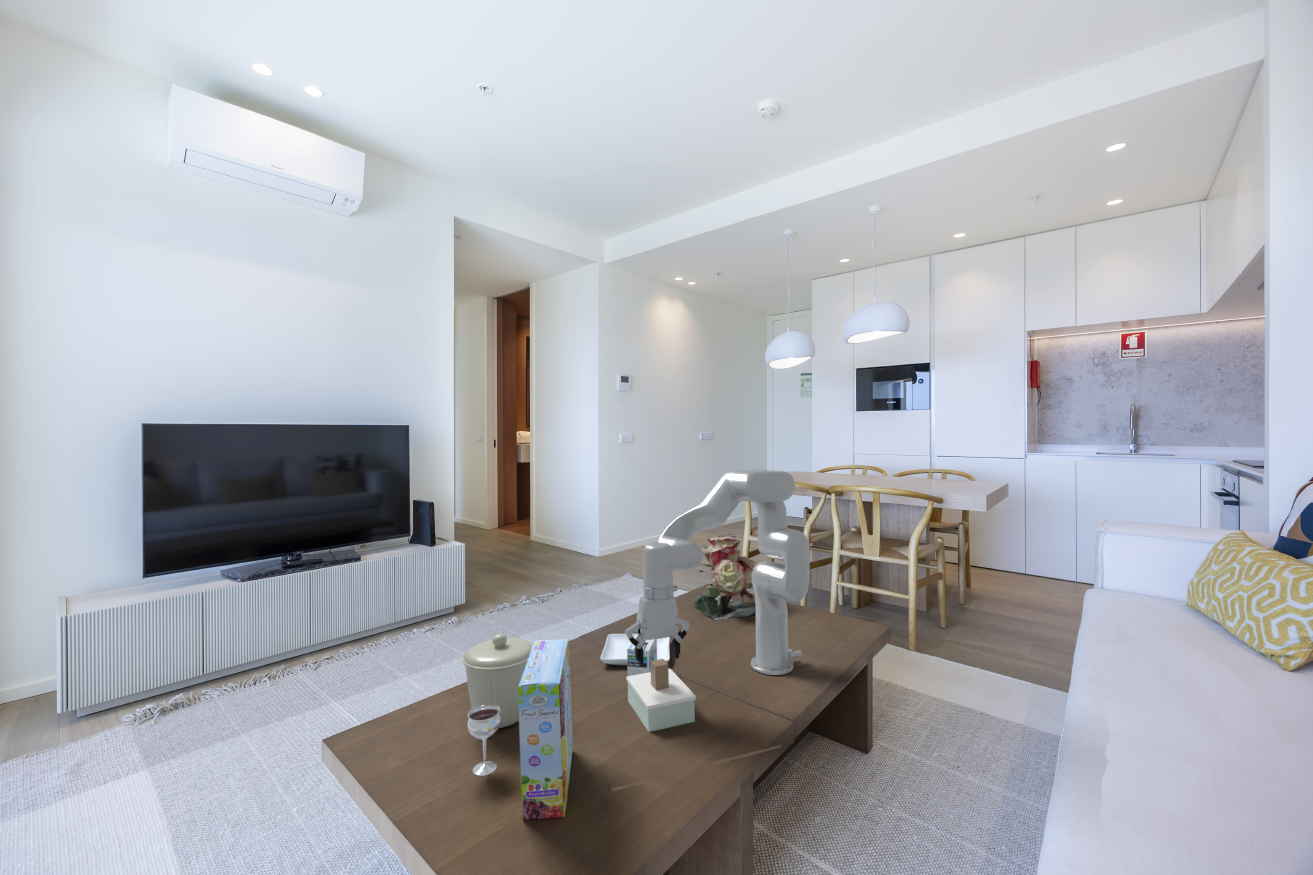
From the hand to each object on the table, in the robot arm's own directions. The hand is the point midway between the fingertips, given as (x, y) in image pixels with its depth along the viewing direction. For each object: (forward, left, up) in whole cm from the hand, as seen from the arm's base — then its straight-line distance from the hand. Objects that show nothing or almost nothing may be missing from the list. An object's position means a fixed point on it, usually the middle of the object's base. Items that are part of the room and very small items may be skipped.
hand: (657, 659), depth 137 cm
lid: (0, 0, -8) cm, 8 cm away
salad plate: (-6, -36, -14) cm, 39 cm away
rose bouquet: (-55, -64, -14) cm, 86 cm away
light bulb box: (-2, -19, -14) cm, 24 cm away
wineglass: (+43, +7, -14) cm, 45 cm away
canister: (+38, -13, -14) cm, 42 cm away
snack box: (+31, +17, -14) cm, 38 cm away
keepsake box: (0, 0, -14) cm, 14 cm away
